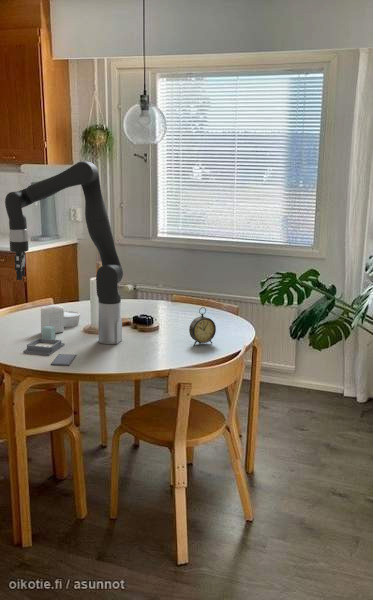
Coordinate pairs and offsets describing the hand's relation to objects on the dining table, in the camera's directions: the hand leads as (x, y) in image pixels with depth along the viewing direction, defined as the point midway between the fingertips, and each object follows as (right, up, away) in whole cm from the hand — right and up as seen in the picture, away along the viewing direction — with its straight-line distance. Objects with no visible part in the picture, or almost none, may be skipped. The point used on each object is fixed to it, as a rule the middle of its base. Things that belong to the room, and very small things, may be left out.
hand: (20, 277), depth 249 cm
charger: (+13, -27, -3) cm, 30 cm away
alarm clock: (+77, -28, 0) cm, 82 cm away
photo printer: (+11, -24, +10) cm, 28 cm away
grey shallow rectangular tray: (+13, -29, -13) cm, 34 cm away
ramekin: (+15, -21, +23) cm, 35 cm away
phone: (+24, -33, -25) cm, 48 cm away
